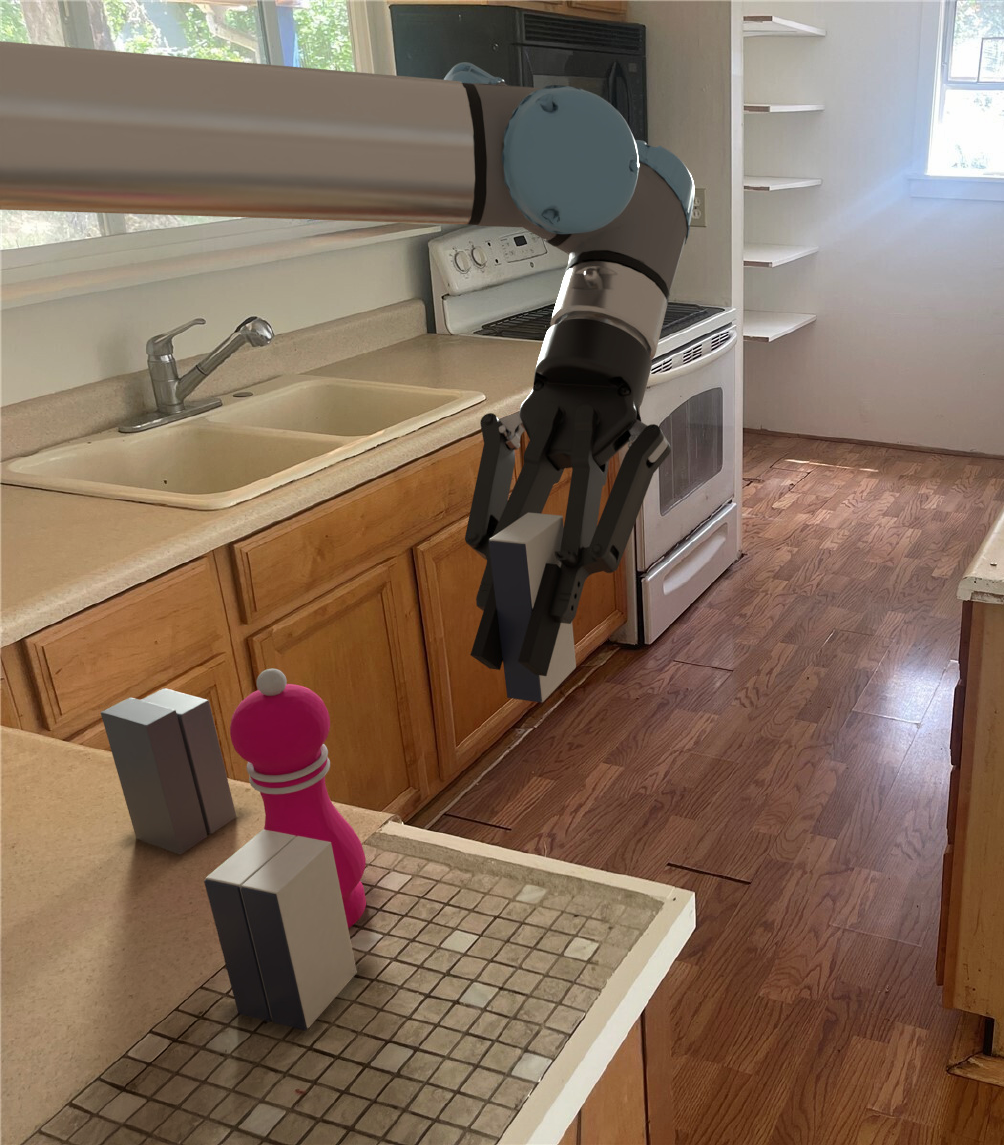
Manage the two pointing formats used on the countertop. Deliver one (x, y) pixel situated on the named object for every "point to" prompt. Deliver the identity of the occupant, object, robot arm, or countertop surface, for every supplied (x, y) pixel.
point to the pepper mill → (297, 774)
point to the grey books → (170, 768)
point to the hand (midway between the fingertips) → (508, 665)
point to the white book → (527, 601)
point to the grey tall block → (282, 927)
